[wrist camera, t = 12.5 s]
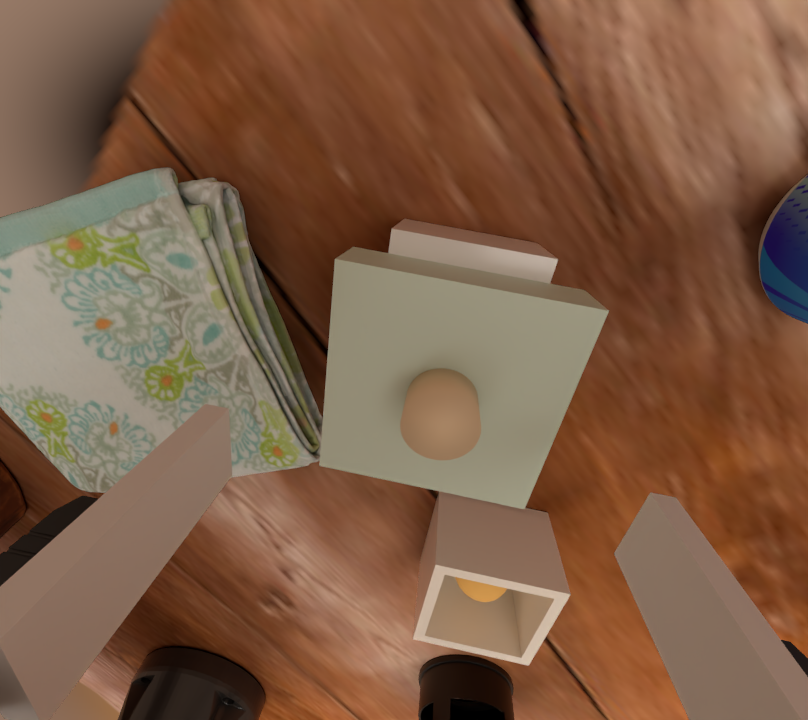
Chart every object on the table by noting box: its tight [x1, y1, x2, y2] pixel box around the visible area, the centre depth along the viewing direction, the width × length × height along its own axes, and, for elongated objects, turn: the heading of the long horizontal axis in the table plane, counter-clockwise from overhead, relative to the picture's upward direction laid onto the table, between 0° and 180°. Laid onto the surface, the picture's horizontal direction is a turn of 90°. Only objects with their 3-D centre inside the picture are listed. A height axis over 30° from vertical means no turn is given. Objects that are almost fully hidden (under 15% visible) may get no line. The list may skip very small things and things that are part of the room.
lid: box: [319, 247, 609, 509], centre depth 16 cm, size 10×10×5 cm
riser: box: [388, 219, 558, 283], centre depth 20 cm, size 7×12×4 cm, turn 171°
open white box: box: [413, 491, 571, 666], centre depth 26 cm, size 8×8×6 cm
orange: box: [455, 577, 507, 602], centre depth 27 cm, size 4×4×4 cm
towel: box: [0, 167, 323, 493], centre depth 23 cm, size 18×21×5 cm
